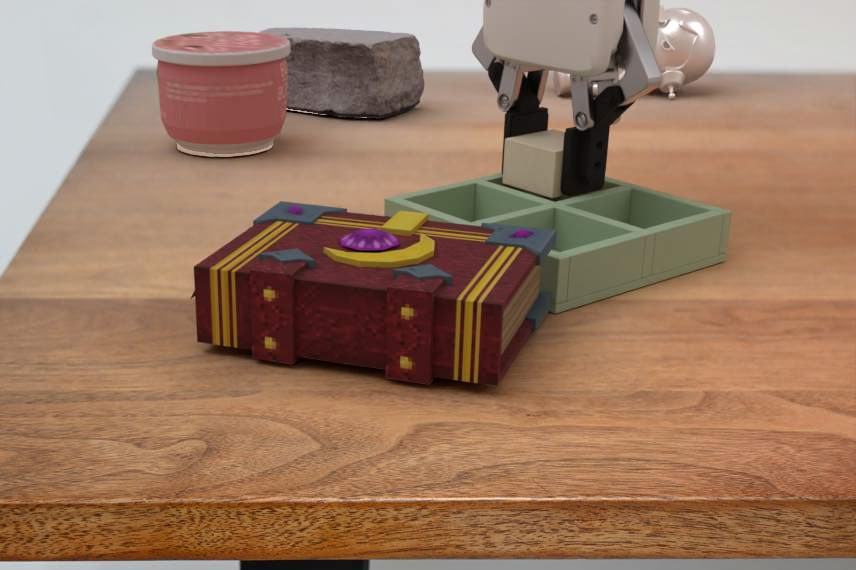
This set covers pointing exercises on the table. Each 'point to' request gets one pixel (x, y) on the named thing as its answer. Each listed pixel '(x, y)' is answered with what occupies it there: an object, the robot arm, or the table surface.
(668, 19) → the figurine
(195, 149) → the container
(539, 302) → the decorative book
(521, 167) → the block
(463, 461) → the table surface
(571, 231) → the grid
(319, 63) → the decorative stone
